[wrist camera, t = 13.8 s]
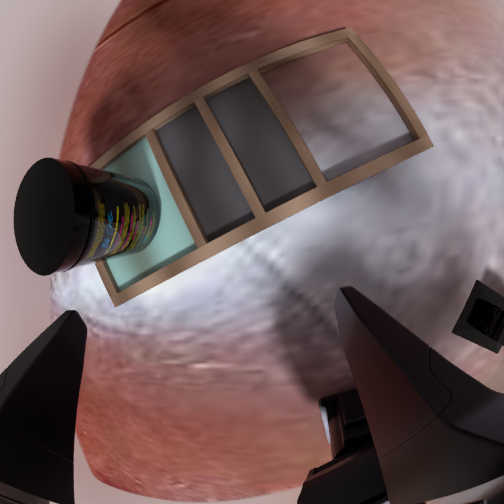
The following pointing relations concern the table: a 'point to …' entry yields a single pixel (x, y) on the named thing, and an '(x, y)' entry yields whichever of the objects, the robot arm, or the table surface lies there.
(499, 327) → the black box
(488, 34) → the table surface
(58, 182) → the supplement container
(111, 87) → the table surface
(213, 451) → the table surface
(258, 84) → the compartment sorting tray
